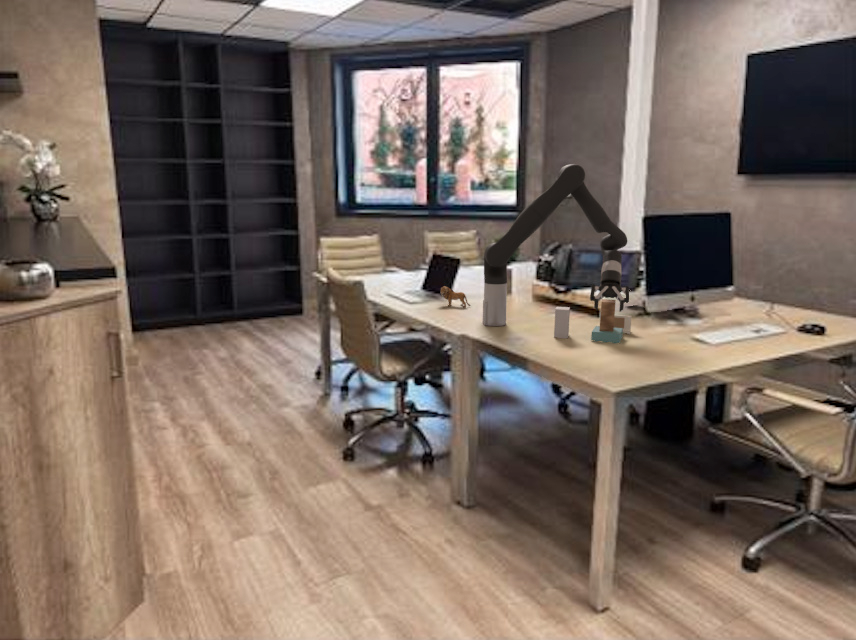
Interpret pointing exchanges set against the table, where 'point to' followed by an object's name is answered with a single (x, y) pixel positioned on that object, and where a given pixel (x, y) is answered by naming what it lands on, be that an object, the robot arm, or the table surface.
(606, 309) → the walnut block
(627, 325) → the plaque
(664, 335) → the table surface
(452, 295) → the lion figurine
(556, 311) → the grey block
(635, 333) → the table surface
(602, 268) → the robot arm
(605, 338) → the teal base block
